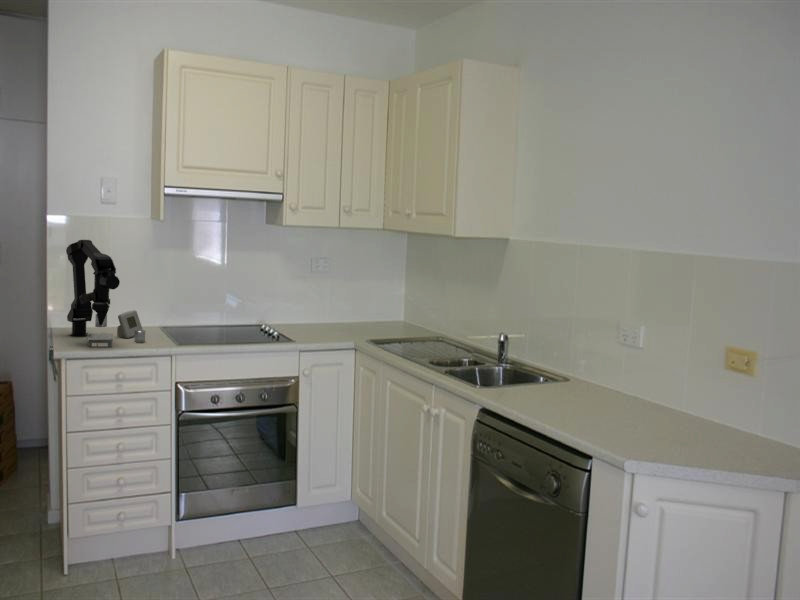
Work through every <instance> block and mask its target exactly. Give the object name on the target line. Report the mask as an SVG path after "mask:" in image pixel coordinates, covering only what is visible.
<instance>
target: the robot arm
mask: <svg viewBox="0 0 800 600" xmlns="http://www.w3.org/2000/svg"><path fill="white" fill-rule="evenodd" d="M65 251H66V255H67V260H68V261H69V263H70V264H71V265H72V281H73V292H74V293H73V294H74V295H73V297H74V299H73V300H72V302H71V304H70V309H69V312H68V313H67V315H66V319H67V321H68V322H70V323H71V333H70V336H71V337H86V336H88V335H89V334H88V332H87V322H92V319H93V318H92V317H93V313H94V312H95V313H96V314H97V316H98V321H99V325H102V324H103V322H104V319H105V317H106V315H107V316H108V312H109V310H110V305H111V298H110V290H116V289H118V287H119V286H120V284H121V282H120V278H119V277H118V276H117V275H116V273H117V268H116V266H115V264H114V260H113V259H112V256H110V255H108V254H105V253H102V252H101V251H100V249H98V248H97V247H96V246H95V244H94V243H93V241H92V240H90V239H80V240H77V241H75V242H73V243H70V244H68V246H67V247H66V249H65ZM88 258H89V259H90V266H91V267H92V269H93V273H92V274H93V275H94V282H93V283H94V286H93V287H94V288H93V290H92V292H88V293H87V287H86V285H87V284H86V283H87V282H86V270H85V264H86V262H87V261H88Z"/></svg>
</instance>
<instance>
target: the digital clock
mask: <svg viewBox="0 0 800 600" xmlns="http://www.w3.org/2000/svg"><path fill="white" fill-rule="evenodd" d="M117 319H118V322H119V325H117V329H116V330H117V331H116V333H117V334H116V335H117V337H118V336H119V337H120V338H125V339H129V338H130V337H131V338H133V337H134V331H135V330H144V329H143V326H142V323H141V320H140V318H139V314H138V312H137V310H129V311H126V312H122V313H120V314H119V315H117ZM119 337H118V338H119Z"/></svg>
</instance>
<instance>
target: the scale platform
mask: <svg viewBox="0 0 800 600" xmlns="http://www.w3.org/2000/svg"><path fill="white" fill-rule="evenodd" d="M87 336H88V337H87V340H88V341H89V340H112V338H113V333H106V332H105V333H104V332H103V333H101V332H100V333H99V332H98V333H95V332H94V333H89V334H88V335H87Z"/></svg>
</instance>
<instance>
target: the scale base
mask: <svg viewBox="0 0 800 600" xmlns="http://www.w3.org/2000/svg"><path fill="white" fill-rule="evenodd" d="M113 340H114V339H113V337H112V340H88V341H87V348H112V347H113Z"/></svg>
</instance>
